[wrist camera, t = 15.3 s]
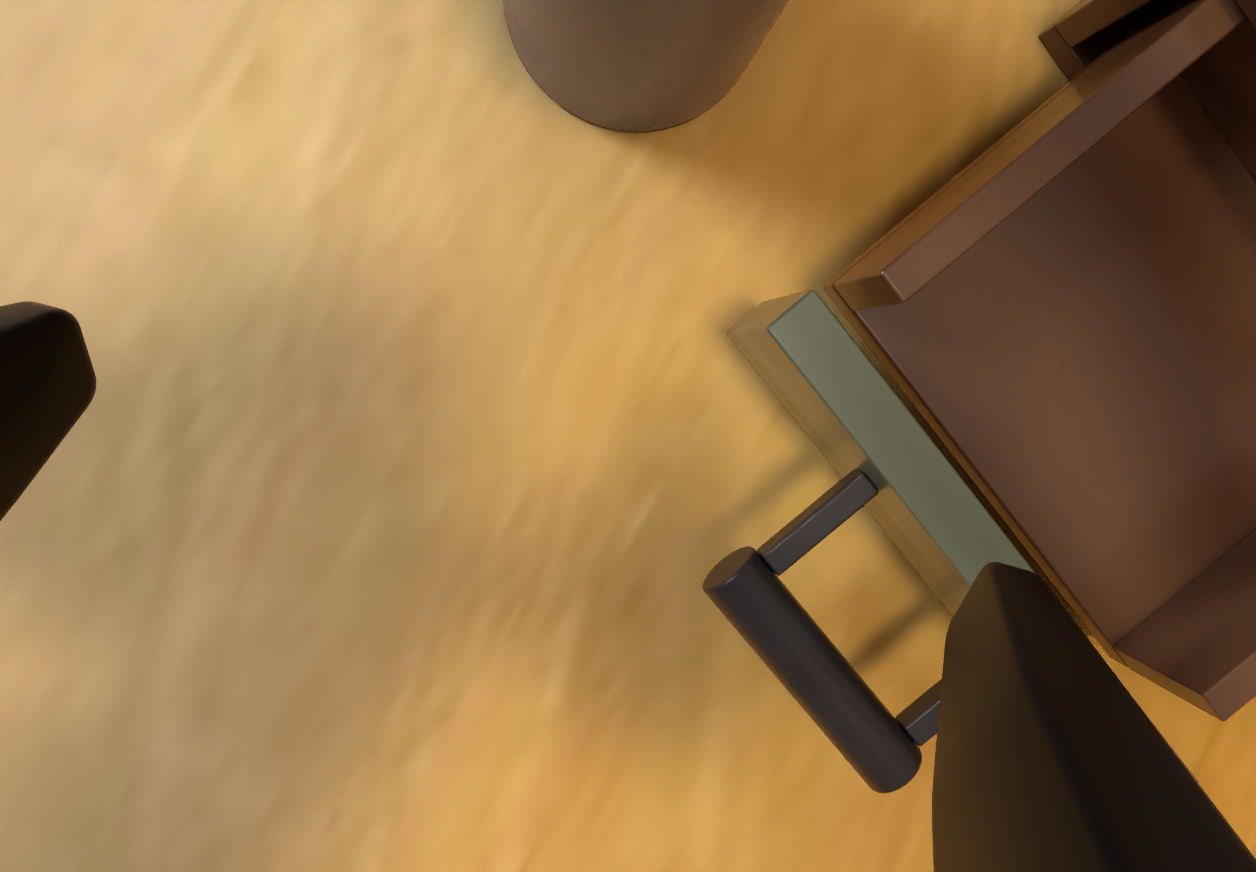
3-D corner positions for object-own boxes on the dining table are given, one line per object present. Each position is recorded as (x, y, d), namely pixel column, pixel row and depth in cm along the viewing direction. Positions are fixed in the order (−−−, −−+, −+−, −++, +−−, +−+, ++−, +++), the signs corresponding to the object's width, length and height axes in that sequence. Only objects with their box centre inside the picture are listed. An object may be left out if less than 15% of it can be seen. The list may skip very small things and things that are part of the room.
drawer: (918, 835, 22) (1000, 948, 18) (589, 445, 20) (595, 469, 16) (1419, 423, 22) (1619, 439, 18) (1127, -3, 20) (1271, -94, 16)
